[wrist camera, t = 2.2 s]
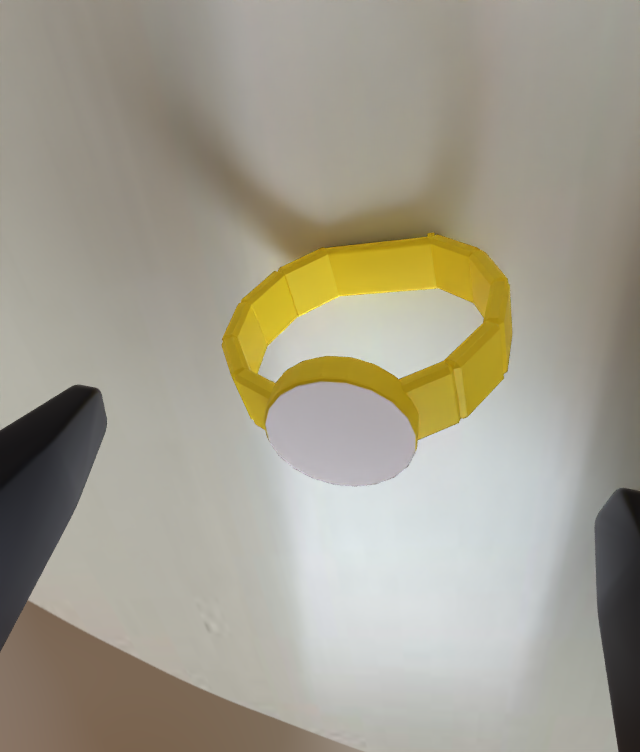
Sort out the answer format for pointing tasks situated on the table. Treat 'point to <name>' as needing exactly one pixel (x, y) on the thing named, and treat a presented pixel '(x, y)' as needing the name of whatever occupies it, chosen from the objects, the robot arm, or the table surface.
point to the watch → (363, 379)
